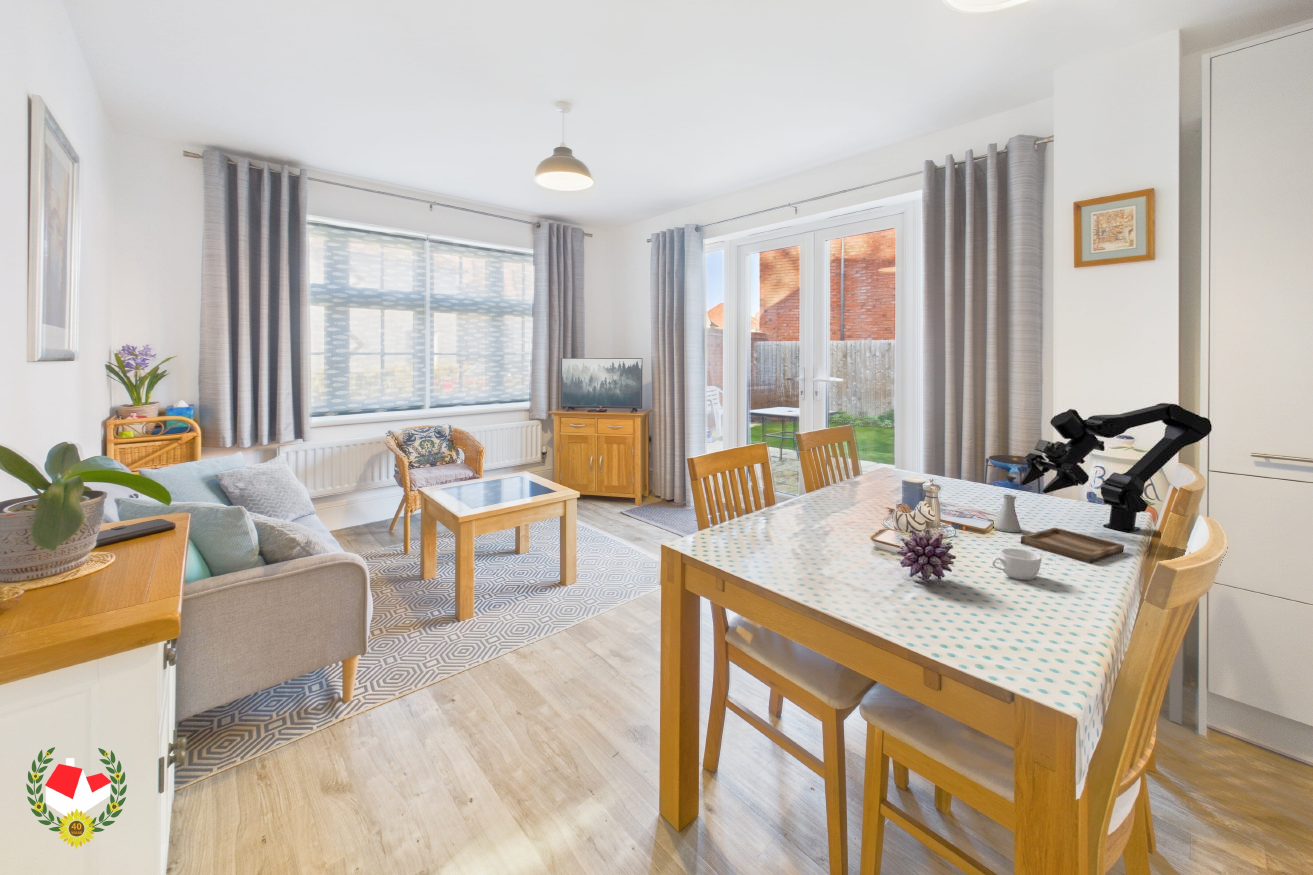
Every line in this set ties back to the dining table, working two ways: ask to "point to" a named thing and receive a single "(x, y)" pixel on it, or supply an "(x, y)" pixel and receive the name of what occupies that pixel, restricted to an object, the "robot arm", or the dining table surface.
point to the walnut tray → (1072, 545)
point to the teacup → (1019, 563)
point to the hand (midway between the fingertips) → (1032, 488)
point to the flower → (926, 554)
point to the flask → (1007, 516)
